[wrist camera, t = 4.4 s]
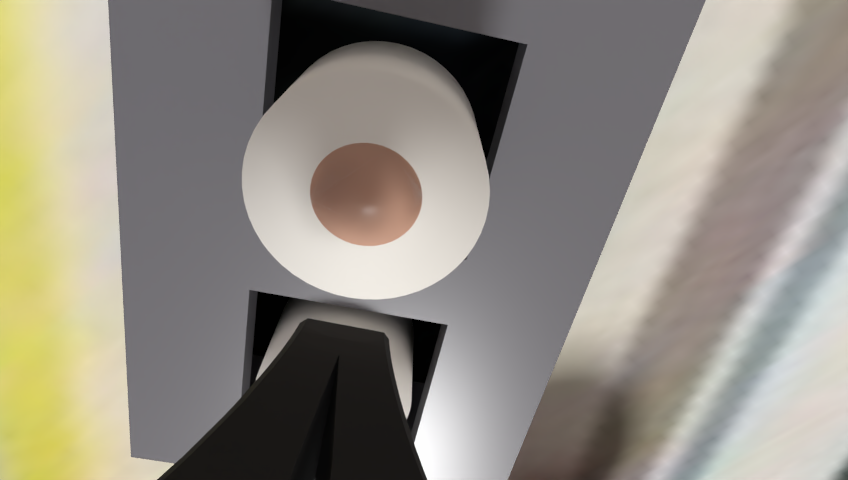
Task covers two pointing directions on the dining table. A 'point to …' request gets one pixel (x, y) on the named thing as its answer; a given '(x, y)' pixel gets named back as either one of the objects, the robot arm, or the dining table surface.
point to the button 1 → (392, 326)
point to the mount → (440, 303)
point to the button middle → (368, 173)
